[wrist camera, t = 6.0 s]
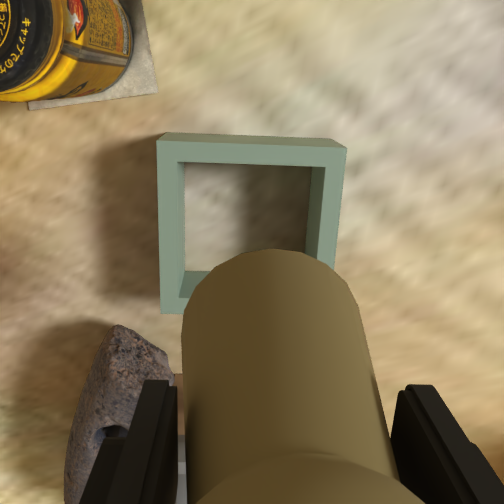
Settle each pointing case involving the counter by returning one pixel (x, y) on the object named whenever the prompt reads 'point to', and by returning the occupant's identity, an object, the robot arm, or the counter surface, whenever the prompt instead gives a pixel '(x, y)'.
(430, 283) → the counter surface
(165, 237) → the shaker holder
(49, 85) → the condiment
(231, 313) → the tan rounded piece
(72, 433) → the perforated stone tool
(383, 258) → the counter surface
